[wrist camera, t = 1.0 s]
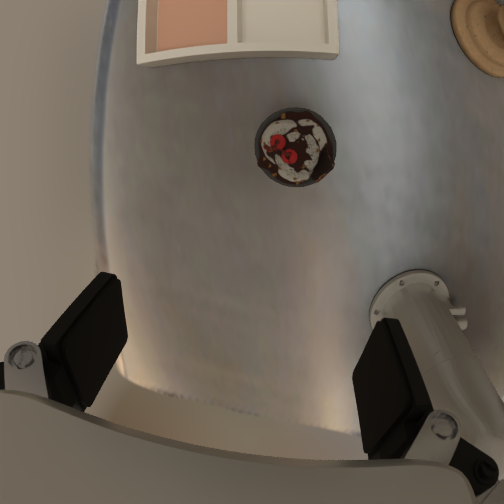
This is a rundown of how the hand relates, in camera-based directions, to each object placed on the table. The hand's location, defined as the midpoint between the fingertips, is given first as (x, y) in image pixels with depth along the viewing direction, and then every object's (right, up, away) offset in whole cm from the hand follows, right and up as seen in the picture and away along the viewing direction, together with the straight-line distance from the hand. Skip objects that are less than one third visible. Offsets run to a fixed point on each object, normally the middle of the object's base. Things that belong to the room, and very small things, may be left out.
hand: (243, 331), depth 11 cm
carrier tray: (-1, +29, +17) cm, 34 cm away
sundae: (+5, +15, +23) cm, 28 cm away
